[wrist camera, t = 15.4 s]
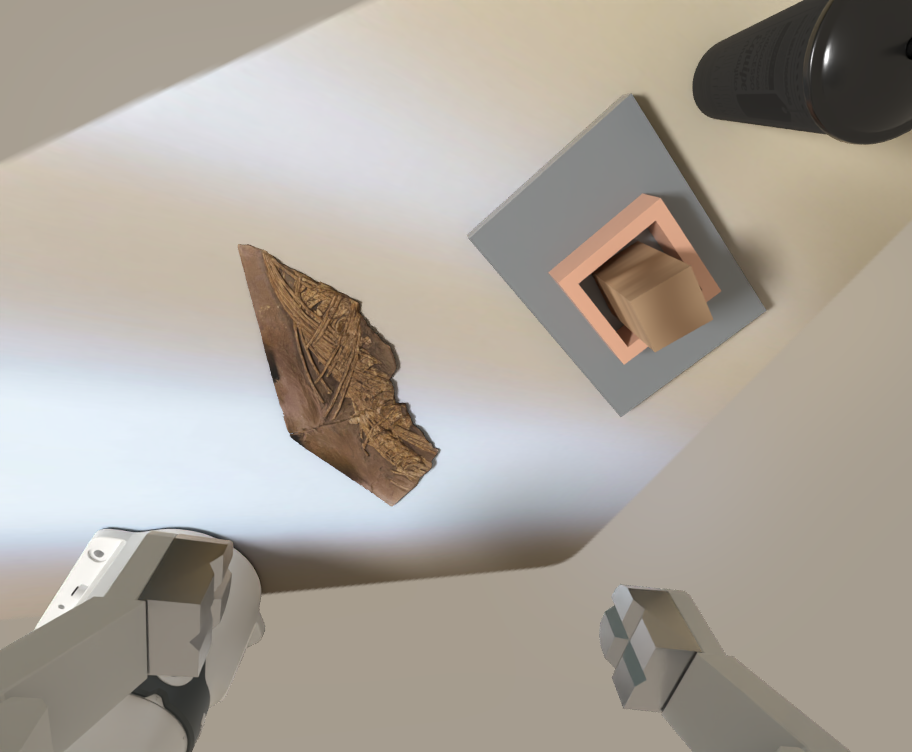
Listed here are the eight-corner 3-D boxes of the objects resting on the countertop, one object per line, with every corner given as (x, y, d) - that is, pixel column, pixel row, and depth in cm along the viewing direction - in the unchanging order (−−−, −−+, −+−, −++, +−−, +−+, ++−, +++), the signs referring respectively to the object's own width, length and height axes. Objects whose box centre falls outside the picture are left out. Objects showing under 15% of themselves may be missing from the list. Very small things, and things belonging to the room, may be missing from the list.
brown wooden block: (611, 313, 40) (655, 352, 33) (589, 270, 39) (629, 301, 32) (658, 285, 40) (713, 319, 33) (638, 241, 38) (690, 265, 31)
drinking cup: (762, 145, 37) (1088, 155, 19) (660, 137, 37) (900, 138, 19) (798, 18, 34) (1229, -112, 16) (688, 6, 34) (1009, -144, 15)
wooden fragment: (453, 482, 48) (453, 489, 47) (343, 519, 49) (342, 527, 48) (328, 209, 38) (326, 211, 37) (192, 264, 38) (186, 267, 38)
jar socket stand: (614, 408, 46) (634, 435, 42) (467, 235, 39) (473, 246, 35) (755, 305, 43) (791, 323, 39) (623, 94, 35) (650, 89, 31)
